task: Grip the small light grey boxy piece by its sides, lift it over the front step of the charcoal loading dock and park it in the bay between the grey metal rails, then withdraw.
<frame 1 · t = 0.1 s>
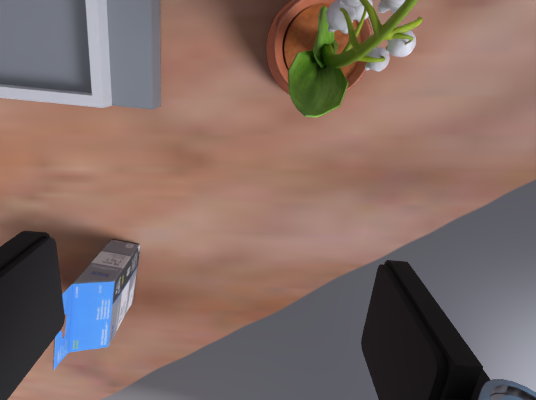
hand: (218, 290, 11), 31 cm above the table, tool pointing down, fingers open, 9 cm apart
potted flower: (319, 40, 37), on the table
label tape cartridge: (122, 270, 46), on the table
dock: (37, 10, 36), on the table
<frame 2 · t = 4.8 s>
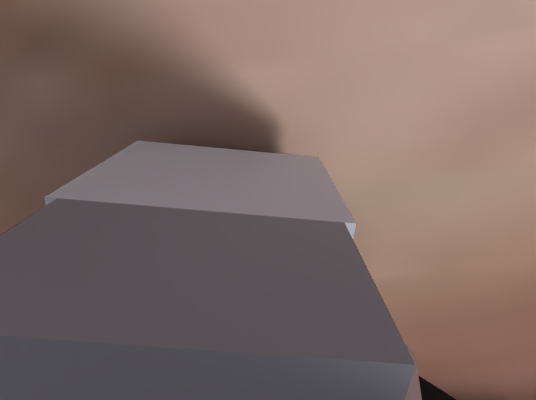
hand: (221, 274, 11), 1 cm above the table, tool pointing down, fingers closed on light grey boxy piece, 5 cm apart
light grey boxy piece: (224, 257, 12), on the table, touching gripper
when the fingers open (5 cm above the table, at t = 10.9 s): light grey boxy piece drops 1 cm, resting on dock.
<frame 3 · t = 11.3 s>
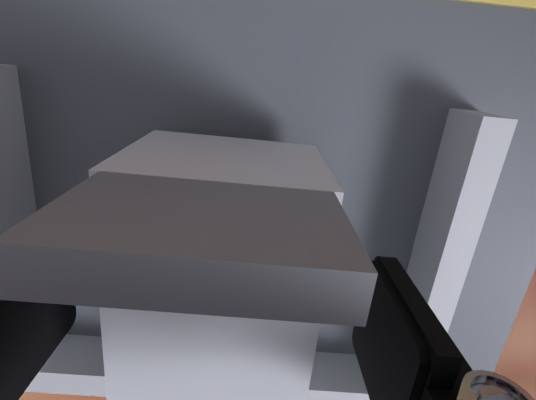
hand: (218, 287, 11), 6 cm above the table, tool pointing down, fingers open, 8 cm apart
light grey boxy piece: (230, 238, 14), point 3 cm above the table, touching dock
dock: (237, 166, 16), on the table
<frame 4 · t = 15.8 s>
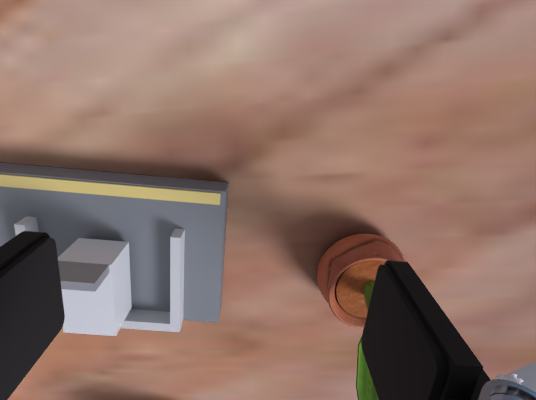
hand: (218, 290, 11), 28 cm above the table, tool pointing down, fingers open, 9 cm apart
potted flower: (361, 258, 43), on the table
light grey boxy piece: (110, 268, 39), point 3 cm above the table, touching dock
dock: (118, 240, 41), on the table
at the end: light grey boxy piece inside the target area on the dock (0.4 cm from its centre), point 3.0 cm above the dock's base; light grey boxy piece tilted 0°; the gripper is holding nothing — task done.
